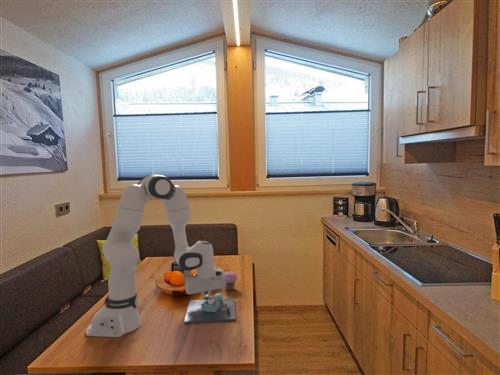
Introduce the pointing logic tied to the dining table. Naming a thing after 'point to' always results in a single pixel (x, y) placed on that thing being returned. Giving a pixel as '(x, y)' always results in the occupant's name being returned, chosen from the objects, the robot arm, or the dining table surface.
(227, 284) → the cupcake
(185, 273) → the coffee box
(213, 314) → the base plate
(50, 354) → the dining table surface
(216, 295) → the flange
